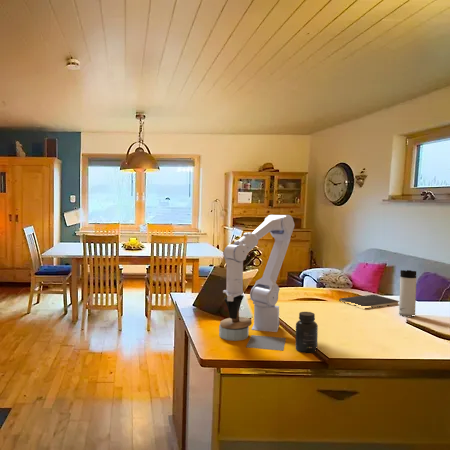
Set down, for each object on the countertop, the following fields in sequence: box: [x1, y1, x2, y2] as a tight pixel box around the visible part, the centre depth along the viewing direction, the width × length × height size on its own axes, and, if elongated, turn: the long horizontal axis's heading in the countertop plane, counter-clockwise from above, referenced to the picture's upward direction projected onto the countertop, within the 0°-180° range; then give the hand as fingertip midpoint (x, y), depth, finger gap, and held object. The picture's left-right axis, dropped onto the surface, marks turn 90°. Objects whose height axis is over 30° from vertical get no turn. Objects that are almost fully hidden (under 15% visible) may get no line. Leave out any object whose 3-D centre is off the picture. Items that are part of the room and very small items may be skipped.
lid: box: [219, 308, 252, 329], centre depth 131 cm, size 11×11×6 cm
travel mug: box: [398, 269, 417, 317], centre depth 161 cm, size 6×7×20 cm
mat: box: [245, 334, 287, 352], centre depth 125 cm, size 12×12×1 cm
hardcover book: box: [338, 294, 399, 308], centre depth 183 cm, size 16×23×2 cm
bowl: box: [218, 324, 250, 342], centre depth 132 cm, size 10×10×4 cm
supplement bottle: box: [295, 311, 319, 354], centre depth 119 cm, size 7×7×12 cm
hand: (234, 317), depth 132 cm, fingers closed on lid, 2 cm apart
